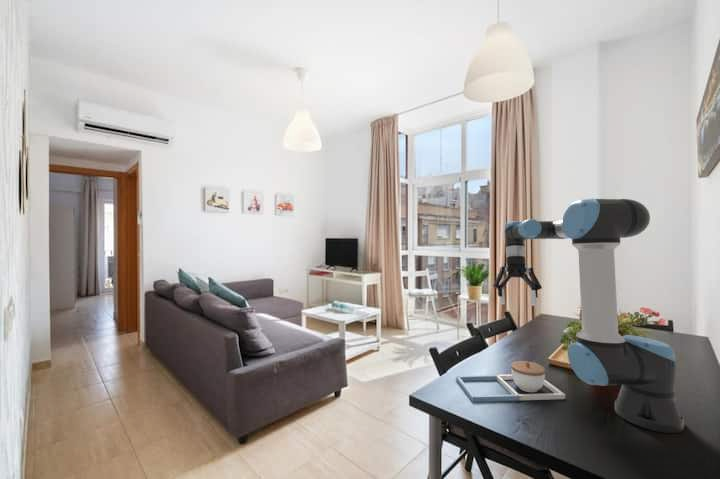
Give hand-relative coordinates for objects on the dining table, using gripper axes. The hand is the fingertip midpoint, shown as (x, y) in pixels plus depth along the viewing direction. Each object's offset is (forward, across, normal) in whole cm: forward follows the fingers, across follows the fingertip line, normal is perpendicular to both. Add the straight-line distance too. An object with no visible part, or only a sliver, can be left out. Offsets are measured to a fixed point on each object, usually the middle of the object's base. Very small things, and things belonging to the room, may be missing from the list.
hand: (518, 305), depth 139 cm
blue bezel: (+30, +23, +20) cm, 43 cm away
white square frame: (+29, +8, +20) cm, 36 cm away
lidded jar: (+29, +8, +20) cm, 36 cm away
